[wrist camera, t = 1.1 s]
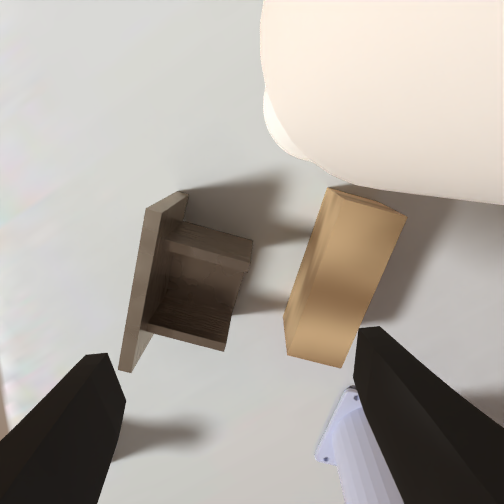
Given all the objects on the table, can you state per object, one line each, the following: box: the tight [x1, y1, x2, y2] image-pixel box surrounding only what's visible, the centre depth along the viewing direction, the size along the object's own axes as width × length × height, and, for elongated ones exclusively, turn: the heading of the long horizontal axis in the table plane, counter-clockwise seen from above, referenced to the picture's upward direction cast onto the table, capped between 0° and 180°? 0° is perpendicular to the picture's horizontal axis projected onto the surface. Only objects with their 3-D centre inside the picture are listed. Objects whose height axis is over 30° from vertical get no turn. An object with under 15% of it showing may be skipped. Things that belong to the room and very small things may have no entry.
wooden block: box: [283, 187, 407, 368], centre depth 21 cm, size 10×4×5 cm, turn 165°
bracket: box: [118, 191, 253, 373], centre depth 20 cm, size 6×10×6 cm, turn 164°
